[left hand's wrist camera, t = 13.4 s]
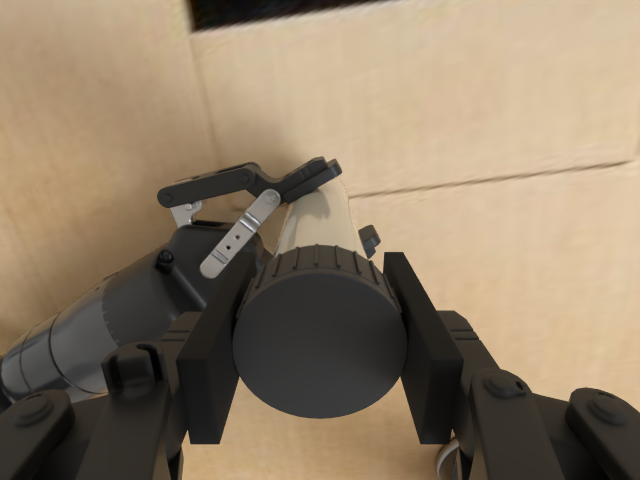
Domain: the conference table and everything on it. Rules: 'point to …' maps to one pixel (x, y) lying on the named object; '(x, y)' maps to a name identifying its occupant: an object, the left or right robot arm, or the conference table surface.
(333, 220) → the white cylindrical bottle
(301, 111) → the conference table surface
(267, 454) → the conference table surface
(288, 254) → the lid
